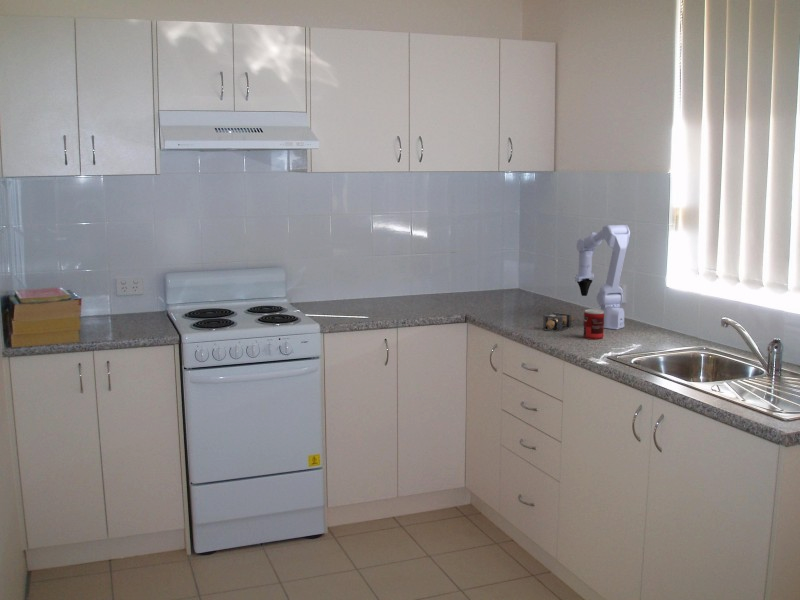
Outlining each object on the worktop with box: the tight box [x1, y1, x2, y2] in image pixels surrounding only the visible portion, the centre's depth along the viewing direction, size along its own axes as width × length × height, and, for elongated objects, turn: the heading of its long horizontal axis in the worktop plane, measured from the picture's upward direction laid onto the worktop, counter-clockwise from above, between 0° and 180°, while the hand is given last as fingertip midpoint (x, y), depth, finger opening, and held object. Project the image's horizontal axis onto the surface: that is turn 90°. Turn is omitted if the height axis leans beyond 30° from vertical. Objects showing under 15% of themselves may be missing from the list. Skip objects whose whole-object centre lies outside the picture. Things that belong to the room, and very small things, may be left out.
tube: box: [546, 314, 575, 329], centre depth 354 cm, size 4×18×4 cm, turn 140°
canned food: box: [583, 308, 605, 341], centre depth 332 cm, size 8×8×11 cm
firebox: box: [541, 311, 573, 332], centre depth 352 cm, size 8×12×6 cm, turn 140°
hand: (584, 295), depth 372 cm, fingers closed
